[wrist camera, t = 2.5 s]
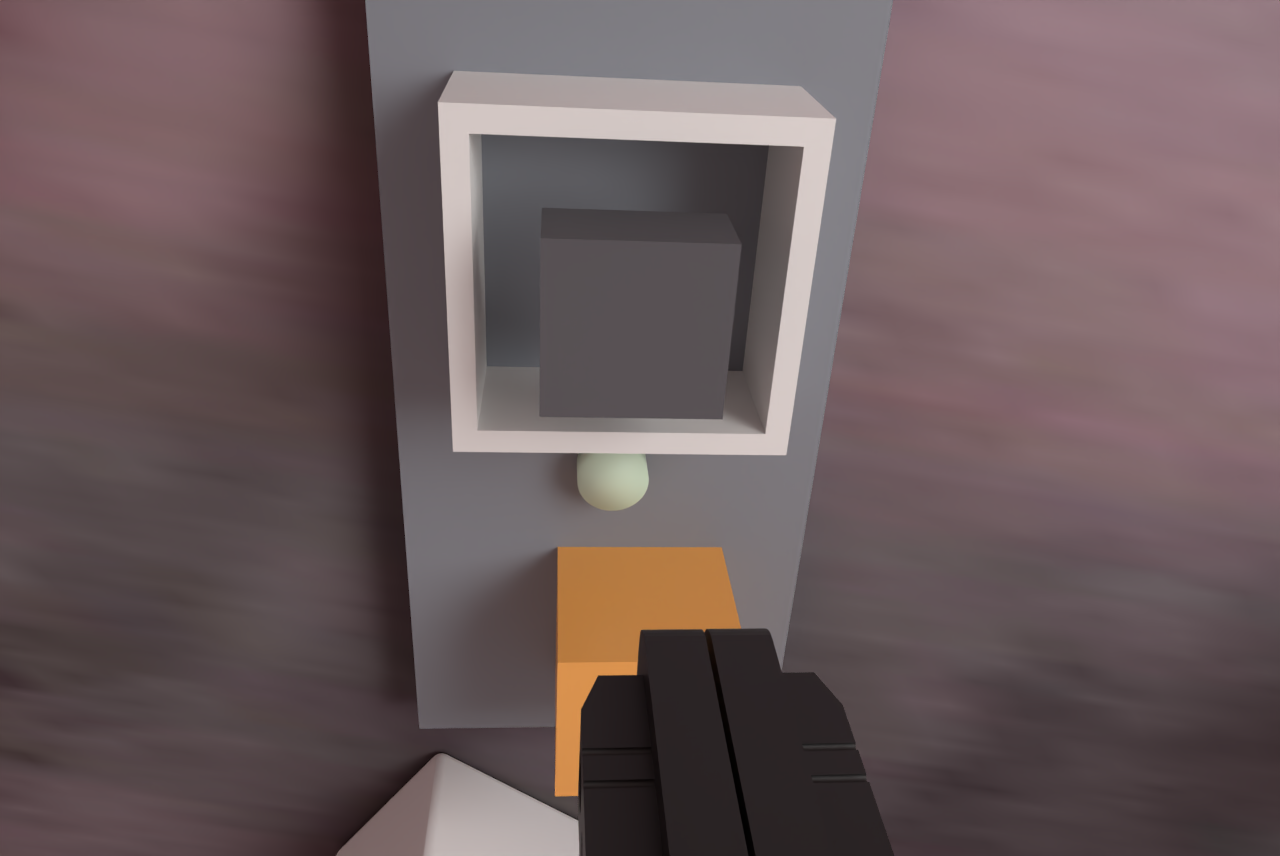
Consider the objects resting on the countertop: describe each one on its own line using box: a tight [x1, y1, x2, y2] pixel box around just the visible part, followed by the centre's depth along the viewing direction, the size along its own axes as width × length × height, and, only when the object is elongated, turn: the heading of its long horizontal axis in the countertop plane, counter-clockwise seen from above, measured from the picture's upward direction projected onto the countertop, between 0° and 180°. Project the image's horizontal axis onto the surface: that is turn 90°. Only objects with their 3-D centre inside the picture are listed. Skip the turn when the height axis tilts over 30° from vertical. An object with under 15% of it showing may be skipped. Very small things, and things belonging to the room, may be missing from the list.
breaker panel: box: [365, 0, 893, 729], centre depth 27 cm, size 12×24×6 cm, turn 177°
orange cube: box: [555, 547, 741, 796], centre depth 29 cm, size 5×5×5 cm
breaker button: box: [539, 208, 742, 419], centre depth 22 cm, size 4×4×2 cm
